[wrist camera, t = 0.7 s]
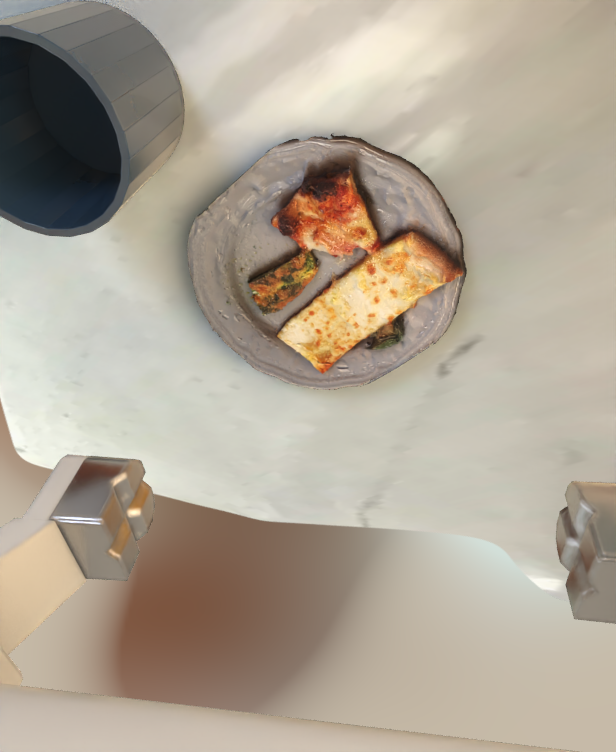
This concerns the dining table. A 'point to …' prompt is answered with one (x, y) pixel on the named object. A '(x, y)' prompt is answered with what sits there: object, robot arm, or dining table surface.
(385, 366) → the food plate
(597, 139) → the dining table surface
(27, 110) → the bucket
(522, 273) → the dining table surface
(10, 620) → the robot arm
